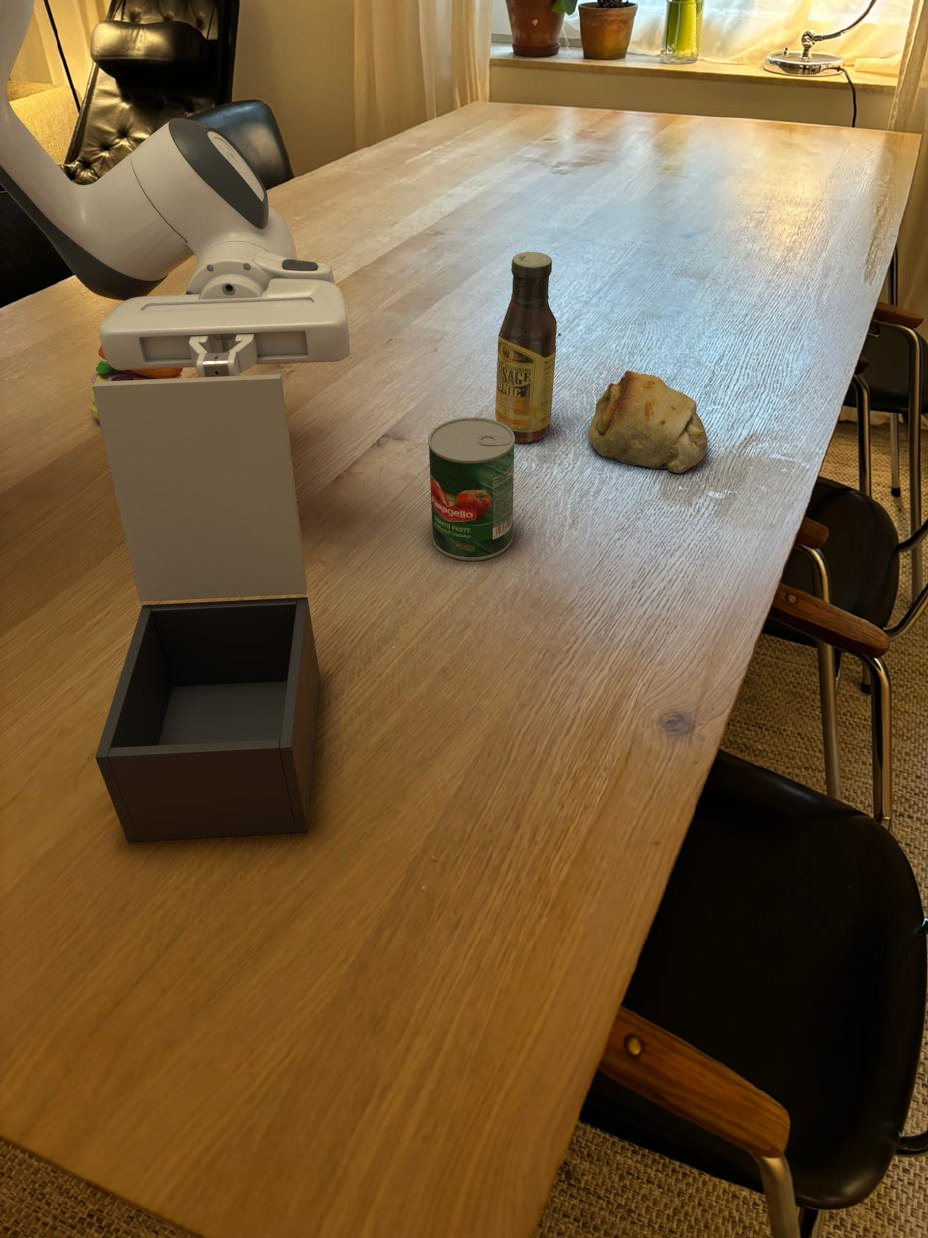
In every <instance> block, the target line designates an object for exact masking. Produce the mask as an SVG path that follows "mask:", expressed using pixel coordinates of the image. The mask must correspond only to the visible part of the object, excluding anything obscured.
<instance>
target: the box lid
mask: <svg viewBox="0 0 928 1238" xmlns="http://www.w3.org/2000/svg"><path fill="white" fill-rule="evenodd" d="M283 385H284V384H283V376H282V374H281V373H273V374H272V373H271V374H251V375H248V374H247V375H239V376H223V377H199V376H198V377H180V378H175V379H151V380H127V381H103V382H95V383H94V384H93V385H92V384H91V388H92V389H93V393H94V398H95V402H96V407H97V412H98V416H99V420H98V421H99V425H100V430H101V435H102V438H103V443H104V446H105V447H104V448H105V452H106V453H105V454H106V456H107V461H108V466H109V470H110V471H109V472H110V474H111V479H112V480H111V481H112V484H113V488H114V494H115V497H116V502H117V507H118V512H119V516H120V520H121V525H122V529H123V534H124V539H125V543H126V548H127V552H128V557H129V562H130V566H131V572H132V575H133V580H134V585H135V589H136V595H137V598H138V602H140V603H141V602H160V601H162V602H163V601H177V600H178V601H182V600H183V601H184V600H203V599H222V598H223V599H224V598H242V597H244V598H245V597H247V598H248V597H263V596H265V597H266V596H267V597H269V596H283V595H284V596H288V595H289V596H290V595H306V594H307V591H308V582H307V581H308V580H307V574H306V566H305V565H306V564H305V557H304V556H305V555H304V548H303V541H302V532H301V525H300V524H301V523H300V517H299V508H298V499H297V490H296V484H295V483H296V482H295V474H294V466H293V460H292V450H291V442H290V434H289V425H288V418H287V410H286V409H287V408H286V401H285V393H284V386H283Z"/></svg>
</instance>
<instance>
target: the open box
mask: <svg viewBox="0 0 928 1238" xmlns="http://www.w3.org/2000/svg"><path fill="white" fill-rule="evenodd" d="M319 668H320V667H319V661H318V655H317V649H316V641H315V635H314V629H313V623H312V616H311V610H310V604H309V598H308V597H307V596H298V597H281V598H279V597H278V598H261V599H260V598H258V599H257V598H256V599H238V600H237V599H236V600H235V599H234V600H219V601H218V600H217V601H216V600H215V601H196V602H176V603H158V604H156V603H155V604H149V603H147V604H142V605H141V607H140V612H139V614H138V617H137V621H136V624H135V628H134V630H133V634H132V637H131V640H130V643H129V647H128V650H127V653H126V657H125V660H124V663H123V666H122V669H121V673H120V675H119V679H118V682H117V684H116V685H117V686H116V689H115V692H114V695H113V699H112V702H111V704H110V708H109V711H108V714H107V717H106V721H105V724H104V727H103V729H102V732H101V733H102V734H101V738H100V740H99V744H98V747H97V750H96V753H95V756H94V758H95V761H96V763H97V766H98V768H99V769H98V770H99V771H100V774H101V777H102V779H103V781H104V784H105V787H106V789H107V792H108V795H109V798H110V800H111V803H112V805H113V808H114V811H115V813H116V816H117V819H118V821H119V823H120V826H121V829H122V831H123V834H124V837H125V839H126V842H128V843H132V842H133V843H134V842H135V843H136V842H152V841H153V842H154V841H170V840H188V839H191V840H192V839H203V838H204V839H205V838H206V839H208V838H224V837H245V836H261V835H262V836H263V835H280V834H282V835H283V834H296V833H297V834H298V833H300V834H301V833H308V831H309V821H310V812H311V811H310V810H311V797H312V788H313V787H312V785H313V775H314V774H313V773H314V762H315V750H316V738H317V727H318V715H319V702H320V691H321V673H320V669H319Z"/></svg>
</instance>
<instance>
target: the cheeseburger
mask: <svg viewBox="0 0 928 1238" xmlns="http://www.w3.org/2000/svg"><path fill="white" fill-rule="evenodd" d="M98 356H99V357H100V358H102V359H103V360H100V361H99V363H97V366H96V367H95V371H96V373H95V374H93V375H92V377H91V386H92V385H93V384H94V383H95V382H103V381H127V380H151V379H175V378H182V376H183V374H182V373H183V370H184V368H162V369H137V370H116V369H114V368H113V367H111V366H110V365H109V364H108V363H107V361H106V359H105V356H104V353H103V349H102V345H101V344H100V347H99V349H98ZM89 390H90V391H89V397H90V400H91V405H90V410H91V413H92V415H93V417H95V419H96V420H98V421H99V416H98V412H97V407H96V402H95V398H94V393H93V389H92V387H91V388H90V389H89Z"/></svg>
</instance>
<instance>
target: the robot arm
mask: <svg viewBox="0 0 928 1238" xmlns="http://www.w3.org/2000/svg"><path fill="white" fill-rule="evenodd" d="M34 5H35V0H0V186H1V187H2V188H3V189H4V190H5V191H6V193H7V194H8V195H9V196H10V197H11V198H12V200H14V201H15V202H16V204H17V205H18V206H19V207H20V208H21V209H22V210H23V212H24V213H25V214H26V215H27V216H28V217H29V219H30V220H32V222H33V223H34V224H35V225H36V226H37V227H38V228H39V229H40V231H41V232H42V233H43V234H44V235H45V236H46V238H47V239H48V240H49V242H50V244H51V245H52V247H53V248H54V249H55V250H56V252H57V254H58V255H59V256H60V258H61V259H62V260H63V261H64V263H65V264H66V266H67V268H68V269H69V270H70V271H71V273H72V274H73V275H74V276H75V278H77V279H78V280H79V282H80V283H81V284H82V285H83V286H84V287H85V288H87V289H88V291H90V292H92V293H93V294H94V295H97V296H99V297H103V298H107V299H109V300H115V301H122V302H120V303H119V304H118V305H117V306H116V307H115V308H114V309H113V310H112V311H110V313H108V315H107V316H106V318H104V320H103V321H102V323H101V324H100V326H99V328H98V334H99V335H98V336H99V341H100V346H101V345H102V349H103V353H104V356H105V359H106V360H105V359H104V360H105V362H107V363H108V364H109V365H110V366H111V367H113V368H114V369H116V370H137V369H162V368H183V369H185V368H194V369H195V370H196V371H197V374H198V378H199V377H223V376H240V374H242V373H243V372H245V371H247V370H249V369H251V368H253V367H254V366H258V365H261V366H262V365H284V364H285V365H286V364H304V363H305V364H307V363H308V364H309V363H310V364H311V363H337V362H342V361H343V360H345V359H347V358H349V357H350V355H351V341H350V329H349V328H350V327H349V321H348V312H347V307H346V306H347V305H346V301H345V297H344V294H343V292H342V290H341V289H340V287H339V286H338V285H337V284H336V281H335V277H334V273H333V268H332V267H331V265H329V264H328V263H323V262H315V261H310V260H309V261H308V260H299V259H298V256H297V250H296V244H295V241H294V238H293V235H292V232H291V229H290V228H289V226H288V224H287V222H286V221H285V220H284V219H283V217H282V216H281V215H280V213H279V212H278V211H277V210H276V209H274V208H273V207H272V206H270V204H269V197H268V192H267V189H266V187H265V185H264V182H263V181H262V179H261V178H260V176H259V174H258V173H257V171H256V169H255V168H254V167H253V165H252V164H251V162H250V161H249V159H248V158H247V157H246V156H245V154H244V153H243V152H242V150H241V149H240V148H239V147H238V146H237V145H236V143H234V142H233V141H232V140H231V139H230V138H229V137H228V136H227V135H226V134H224V133H223V132H222V131H221V130H218V129H216V128H214V127H213V126H209V125H207V124H205V123H201V122H198V121H195V120H192V119H187V118H176V117H175V118H171V119H170V120H169V121H168V122H166V123H165V124H164V125H162V126H161V127H160V128H159V129H158V130H156V131H155V132H153V133H152V134H151V135H149V136H148V137H147V138H146V139H144V140H143V141H142V142H141V143H139V145H137V146H136V147H135V148H134V149H133V150H132V152H130V153H129V154H128V155H127V156H125V157H124V158H123V159H122V160H121V161H119V162H118V163H117V164H116V165H114V166H113V167H112V168H110V169H109V170H108V171H107V172H106V173H105V174H103V175H102V176H101V177H100V178H98V179H97V180H96V181H94V182H93V183H90V184H85V185H84V184H77V183H75V182H73V180H71V179H70V178H69V177H68V175H67V174H66V173H65V172H64V171H63V170H62V168H61V167H60V166H59V165H58V164H57V162H56V161H55V160H54V159H53V157H52V156H51V155H50V154H49V153H48V151H47V150H46V149H45V147H44V146H43V145H42V144H41V143H40V142H39V140H38V139H37V138H36V137H35V136H34V134H33V133H32V132H31V131H30V130H29V129H28V127H27V126H26V125H25V124H24V122H23V121H22V120H21V118H20V117H19V116H18V115H17V113H16V112H15V110H14V108H13V107H12V105H11V103H10V100H9V98H8V93H7V88H8V84H9V81H10V80H9V79H10V77H11V74H12V71H13V68H14V66H15V63H16V61H17V58H18V56H19V54H20V51H21V49H22V46H23V44H24V42H25V39H26V36H27V33H28V30H29V26H30V24H31V20H32V15H33V11H34ZM194 256H195V258H196V265H195V267H194V269H193V271H192V275H191V277H190V279H189V282H188V284H187V285H186V289H185V294H167V295H165V294H164V295H150V294H151V293H152V292H153V291H154V290H155V289H156V288H157V287H158V286H159V285H160V284H161V283H163V282H164V281H165V280H166V279H167V278H168V276H169V275H170V274H171V273H172V272H173V271H175V270H176V269H177V268H179V267H180V266H182V264H184V263H186V262H187V261H188V260H190V259H191V258H192V257H194Z"/></svg>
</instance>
